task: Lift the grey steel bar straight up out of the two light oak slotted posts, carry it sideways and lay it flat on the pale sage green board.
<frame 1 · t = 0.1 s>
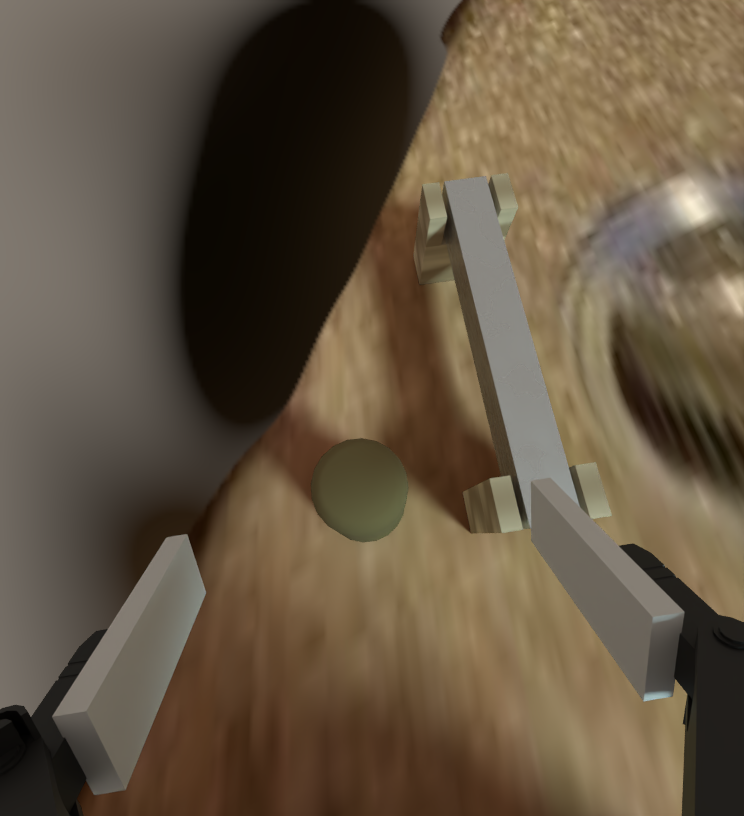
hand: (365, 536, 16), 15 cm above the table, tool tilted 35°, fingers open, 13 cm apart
steel rail: (492, 349, 29), point 5 cm above the table, touching hook stands
olive round-headed peg: (365, 500, 32), on the table
hook stands: (476, 375, 34), on the table
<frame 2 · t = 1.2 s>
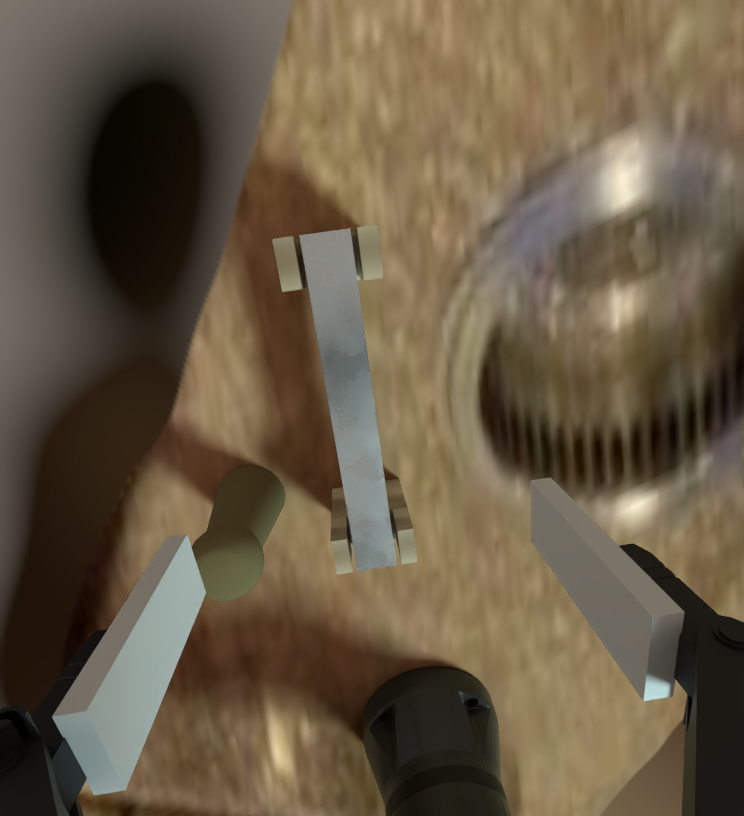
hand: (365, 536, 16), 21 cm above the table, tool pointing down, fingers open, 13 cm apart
steel rail: (353, 408, 31), point 5 cm above the table, touching hook stands
olive round-headed peg: (252, 494, 39), on the table
hook stands: (351, 390, 36), on the table
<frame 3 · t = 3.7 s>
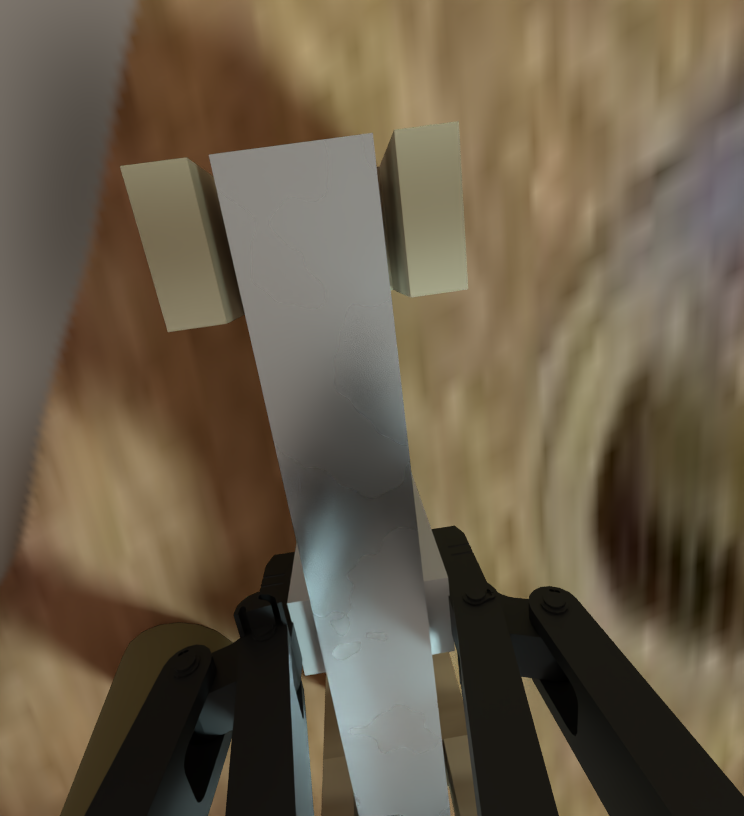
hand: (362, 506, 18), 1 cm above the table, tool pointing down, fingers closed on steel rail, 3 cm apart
steel rail: (368, 568, 14), point 5 cm above the table, touching gripper, hook stands
olive round-headed peg: (185, 665, 22), on the table
hook stands: (361, 493, 19), on the table
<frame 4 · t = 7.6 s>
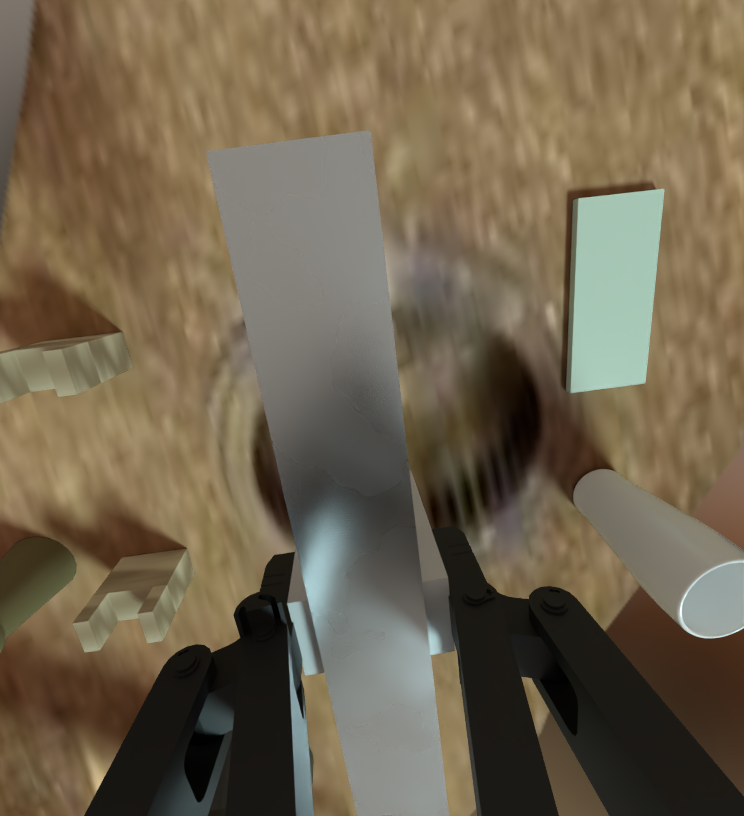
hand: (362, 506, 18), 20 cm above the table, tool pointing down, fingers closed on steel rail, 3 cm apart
steel rail: (367, 567, 14), point 24 cm above the table, touching gripper
olive round-headed peg: (43, 562, 40), on the table
drinking glass: (594, 489, 43), on the table
hook stands: (127, 469, 38), on the table
sage board: (608, 297, 36), on the table
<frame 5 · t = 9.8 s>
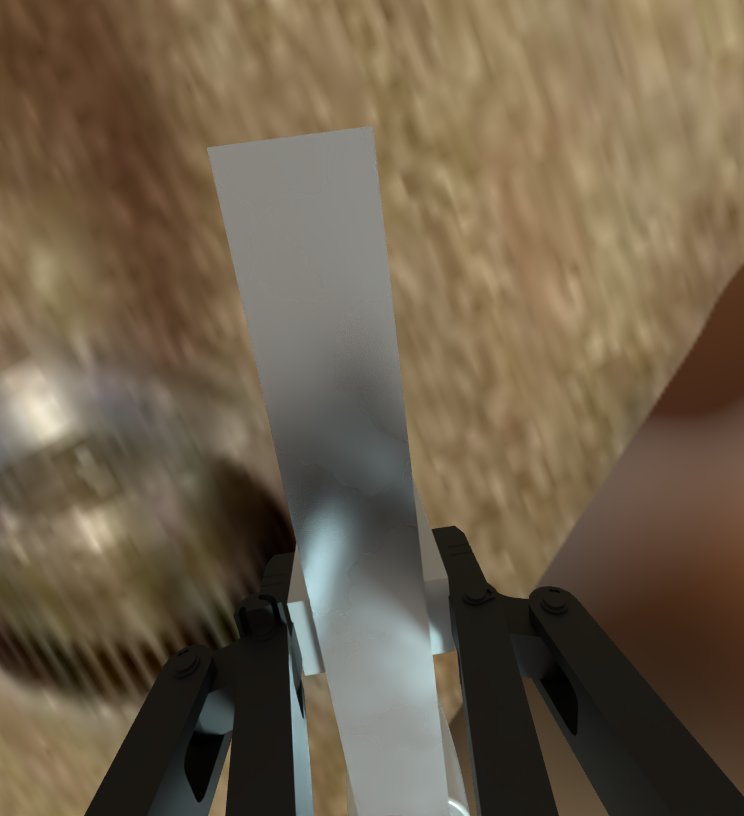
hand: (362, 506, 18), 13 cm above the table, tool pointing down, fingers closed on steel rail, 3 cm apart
steel rail: (368, 567, 14), point 17 cm above the table, touching gripper
drinking glass: (382, 615, 37), on the table
when the fingers open (2 cm above the table, at t = 11.5 s): steel rail drops 5 cm, resting on sage board.
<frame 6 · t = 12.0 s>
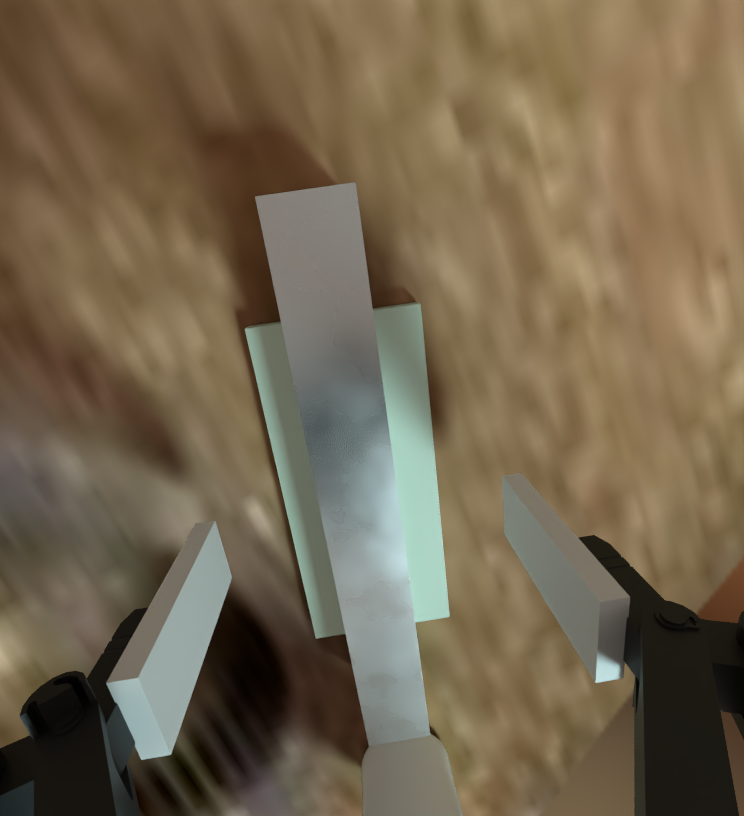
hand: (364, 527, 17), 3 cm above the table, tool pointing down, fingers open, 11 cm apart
steel rail: (360, 491, 19), point 1 cm above the table, touching sage board
drinking glass: (403, 749, 26), on the table
sage board: (360, 484, 20), on the table
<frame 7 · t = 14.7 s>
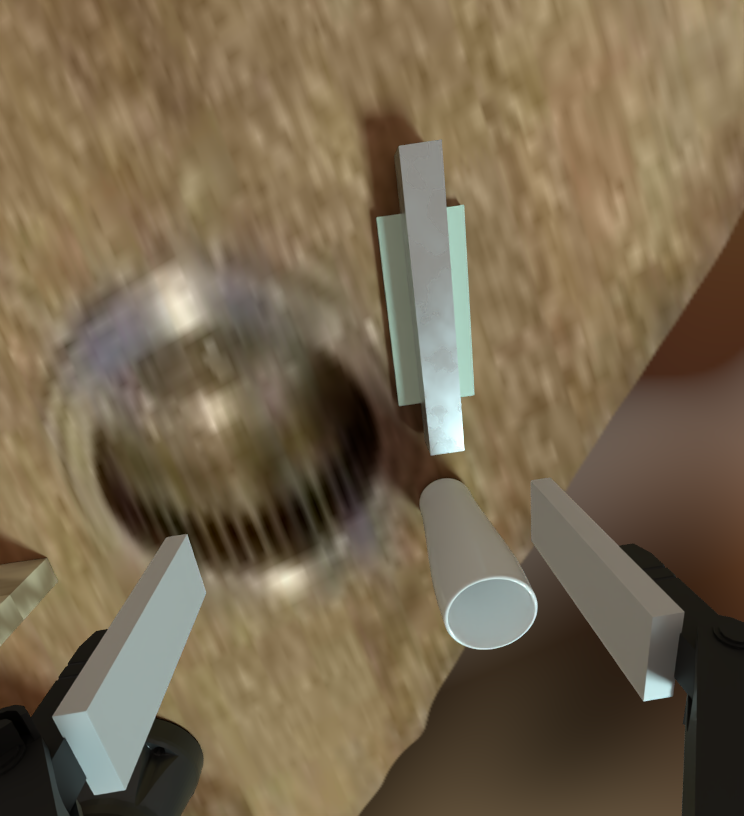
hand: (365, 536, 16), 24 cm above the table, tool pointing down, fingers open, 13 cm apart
steel rail: (428, 312, 36), point 1 cm above the table, touching sage board
drinking glass: (443, 497, 43), on the table
sage board: (427, 311, 37), on the table
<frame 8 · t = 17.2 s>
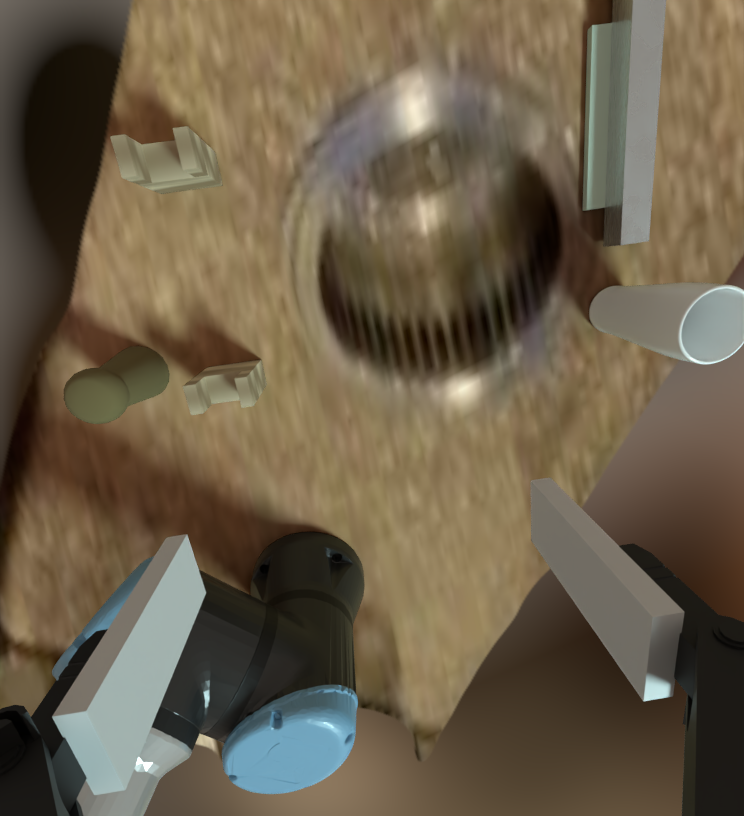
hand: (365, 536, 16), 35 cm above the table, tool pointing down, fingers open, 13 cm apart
steel rail: (622, 118, 42), point 1 cm above the table, touching sage board
olive round-headed peg: (142, 371, 48), on the table
drinking glass: (607, 308, 50), on the table
hook stands: (214, 282, 45), on the table
sage board: (618, 121, 43), on the table
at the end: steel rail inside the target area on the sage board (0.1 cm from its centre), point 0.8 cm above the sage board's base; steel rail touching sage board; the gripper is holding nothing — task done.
